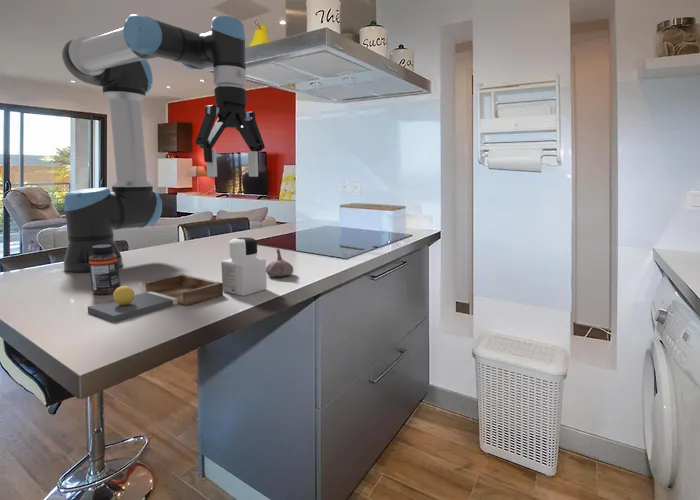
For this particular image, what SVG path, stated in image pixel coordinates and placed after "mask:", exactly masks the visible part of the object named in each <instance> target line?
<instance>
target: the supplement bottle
mask: <svg viewBox="0 0 700 500" xmlns="http://www.w3.org/2000/svg"><path fill="white" fill-rule="evenodd" d="M92 252H93V254H92V255H91V256H90V257H89V267H90V272H89V276H90V282H91V283H90V284H91V291H92V293H93V294H95V295H98V296H99V295H100V296H101V295H102V296H103V295H104V296H105V295H112V294H113V293H114V291H115V290H116V289H117V288H118V287H121V281H120V271H119V267H118V260H117V255H116V254H114V253H113V252H112V246H111V245H96V246H93V247H92Z"/></svg>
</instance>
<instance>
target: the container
mask: <svg viewBox="0 0 700 500" xmlns="http://www.w3.org/2000/svg"><path fill="white" fill-rule="evenodd" d="M228 244H229V245H228V248H229V249H228V250H229V258H228V259H227V258H226V259H224V260H223V259H222V260H221V281H222V282H221V283H222V285H223V292H225V293H226V292H227V293H229V294H234V295H237V296H242V297H245V296H249V295H252V294H255V293H259V292H262V291H266V290H267V286H268V285H267V283H268V282H267V272H266V267H267V260H266V259H264V258H259V257H258V240H257V239H255V238H252V237H235V238H232V239H231V240H230V241H229V242H228Z"/></svg>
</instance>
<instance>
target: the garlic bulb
mask: <svg viewBox="0 0 700 500" xmlns="http://www.w3.org/2000/svg"><path fill="white" fill-rule="evenodd" d="M275 251H276V254H277V259H276V260H273V261H271V262H270V263H268V264H267V265H266V275H268V277H270V278H272V279H273V278H276V277H280V278H281V277H285V276H287V277H289V276H292V274H293V273H294V267H293V265H292V264H291V263H290V262H288V261H286V260H285V259H283V257H282V254H281V250H280V248H276V250H275Z"/></svg>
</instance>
